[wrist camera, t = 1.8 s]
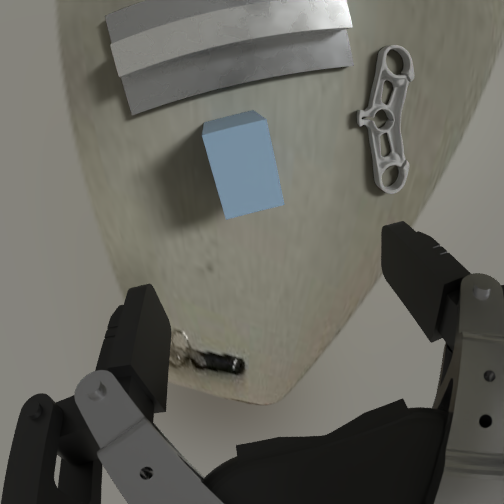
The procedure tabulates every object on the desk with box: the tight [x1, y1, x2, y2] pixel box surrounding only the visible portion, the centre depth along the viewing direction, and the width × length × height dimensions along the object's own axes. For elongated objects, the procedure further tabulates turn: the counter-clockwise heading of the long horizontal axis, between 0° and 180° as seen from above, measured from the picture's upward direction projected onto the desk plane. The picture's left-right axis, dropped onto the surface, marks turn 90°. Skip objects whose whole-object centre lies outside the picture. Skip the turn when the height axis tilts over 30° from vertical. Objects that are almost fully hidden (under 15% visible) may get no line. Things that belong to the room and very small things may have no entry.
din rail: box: [105, 0, 354, 115], centre depth 21 cm, size 20×10×4 cm, turn 103°
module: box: [202, 110, 284, 219], centre depth 25 cm, size 4×7×7 cm
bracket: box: [357, 45, 414, 194], centre depth 28 cm, size 8×2×15 cm
